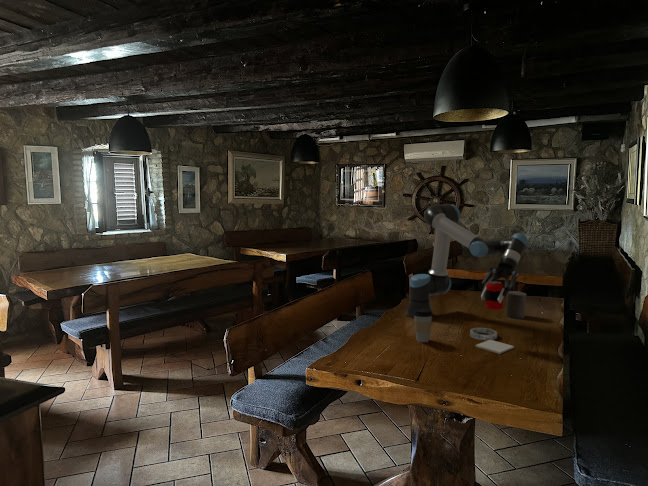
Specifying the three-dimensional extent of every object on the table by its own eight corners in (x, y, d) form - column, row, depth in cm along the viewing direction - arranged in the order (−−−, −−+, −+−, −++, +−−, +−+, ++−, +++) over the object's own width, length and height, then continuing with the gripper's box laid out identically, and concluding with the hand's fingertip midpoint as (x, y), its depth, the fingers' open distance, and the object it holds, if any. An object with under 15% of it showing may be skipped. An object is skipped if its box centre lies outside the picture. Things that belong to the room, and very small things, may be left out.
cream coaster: (475, 346, 199) (475, 345, 199) (489, 341, 206) (490, 339, 206) (499, 354, 189) (499, 352, 189) (514, 347, 197) (514, 346, 197)
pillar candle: (506, 317, 245) (507, 291, 243) (506, 313, 254) (507, 288, 252) (525, 319, 241) (526, 293, 240) (524, 315, 250) (525, 289, 249)
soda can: (492, 310, 196) (493, 284, 195) (482, 306, 204) (482, 281, 202) (506, 309, 198) (507, 283, 197) (495, 305, 206) (496, 280, 204)
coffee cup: (433, 344, 202) (433, 313, 201) (412, 343, 204) (412, 312, 203) (432, 337, 212) (432, 308, 210) (412, 336, 213) (412, 307, 212)
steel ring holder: (465, 335, 214) (465, 331, 214) (479, 330, 222) (479, 326, 222) (487, 342, 205) (487, 337, 204) (501, 336, 212) (501, 332, 212)
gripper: (533, 268, 201) (514, 308, 192) (492, 264, 217) (473, 300, 208) (528, 258, 197) (509, 298, 189) (486, 254, 213) (467, 291, 204)
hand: (490, 299), depth 198 cm, fingers closed on soda can, 7 cm apart
